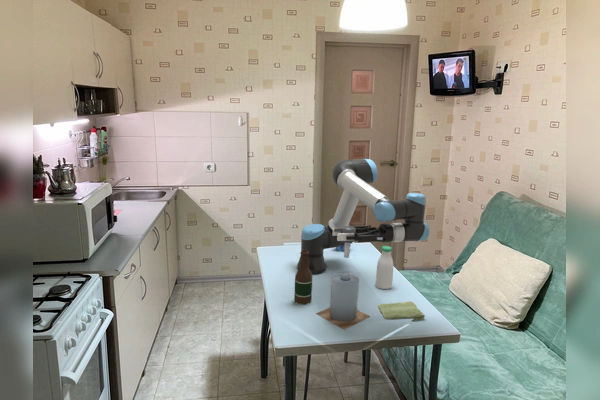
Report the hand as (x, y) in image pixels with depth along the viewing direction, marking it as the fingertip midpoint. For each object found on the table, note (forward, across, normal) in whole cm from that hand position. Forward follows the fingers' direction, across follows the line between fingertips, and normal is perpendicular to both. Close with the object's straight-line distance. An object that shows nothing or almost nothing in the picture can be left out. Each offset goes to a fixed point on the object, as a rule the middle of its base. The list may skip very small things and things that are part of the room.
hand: (335, 234), depth 164 cm
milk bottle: (-34, +26, -36) cm, 56 cm away
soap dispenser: (-5, 0, -35) cm, 35 cm away
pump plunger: (-4, 0, -9) cm, 10 cm away
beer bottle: (+8, +15, -36) cm, 40 cm away
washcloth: (-30, -1, -37) cm, 47 cm away
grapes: (-29, +76, -36) cm, 89 cm away
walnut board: (-5, 0, -36) cm, 36 cm away
